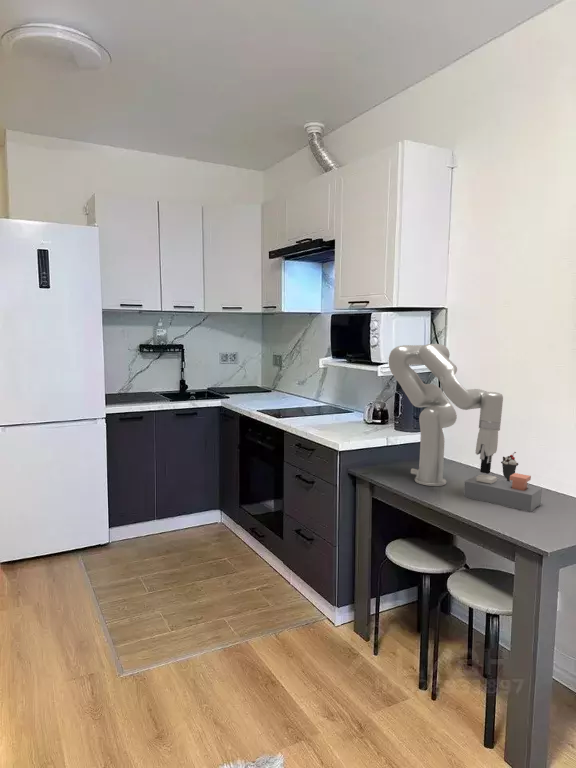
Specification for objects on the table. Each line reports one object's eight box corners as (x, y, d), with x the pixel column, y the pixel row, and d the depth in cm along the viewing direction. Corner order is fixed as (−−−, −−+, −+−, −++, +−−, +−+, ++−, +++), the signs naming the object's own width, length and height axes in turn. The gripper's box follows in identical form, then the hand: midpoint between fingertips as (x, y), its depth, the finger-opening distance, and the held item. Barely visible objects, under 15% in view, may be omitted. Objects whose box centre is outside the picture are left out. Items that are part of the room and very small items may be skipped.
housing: (463, 496, 202) (464, 481, 201) (476, 490, 211) (477, 475, 210) (530, 511, 186) (531, 495, 186) (540, 503, 195) (541, 488, 195)
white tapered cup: (475, 496, 202) (476, 476, 201) (481, 493, 206) (482, 474, 206) (490, 499, 199) (491, 479, 198) (495, 496, 203) (496, 476, 202)
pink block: (508, 495, 194) (509, 475, 193) (513, 492, 198) (514, 472, 198) (524, 499, 191) (526, 478, 190) (529, 495, 195) (530, 475, 194)
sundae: (518, 490, 212) (521, 453, 210) (500, 489, 213) (503, 452, 212) (515, 485, 218) (517, 449, 217) (497, 484, 219) (500, 448, 218)
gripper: (487, 421, 208) (482, 466, 210) (472, 425, 197) (467, 474, 199) (506, 424, 203) (502, 471, 205) (492, 429, 192) (487, 478, 194)
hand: (485, 472), depth 202 cm, fingers closed
